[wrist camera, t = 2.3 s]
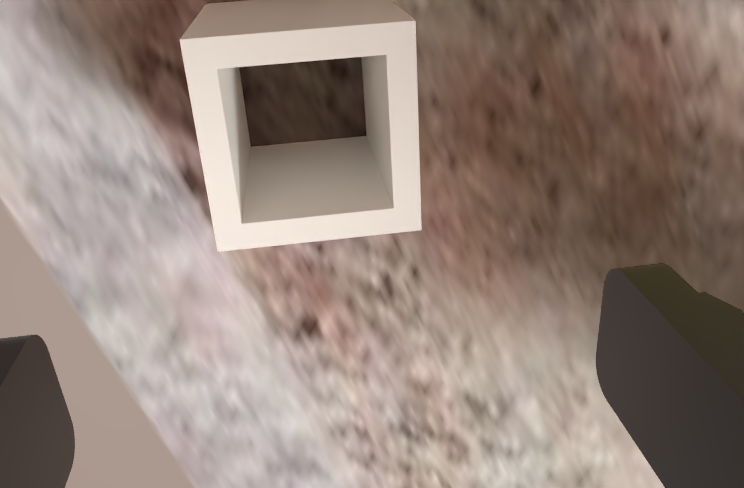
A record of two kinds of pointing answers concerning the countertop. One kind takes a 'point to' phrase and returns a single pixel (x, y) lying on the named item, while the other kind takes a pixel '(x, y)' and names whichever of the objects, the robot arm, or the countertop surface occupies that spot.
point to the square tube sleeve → (312, 158)
